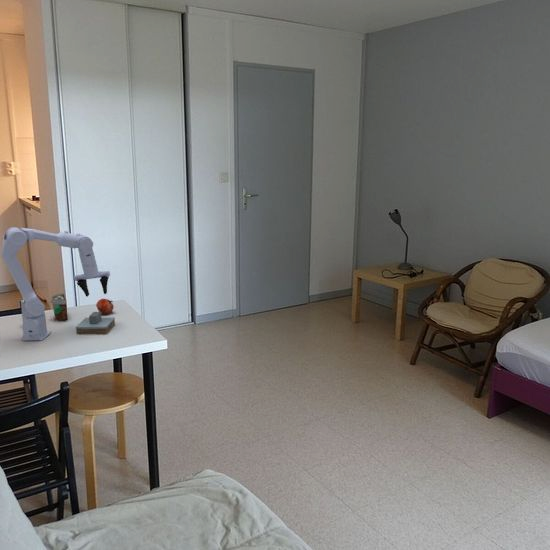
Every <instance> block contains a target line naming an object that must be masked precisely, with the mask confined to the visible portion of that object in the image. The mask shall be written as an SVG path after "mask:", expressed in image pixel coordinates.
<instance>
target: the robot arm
mask: <svg viewBox="0 0 550 550" xmlns="http://www.w3.org/2000/svg"><path fill="white" fill-rule="evenodd" d="M34 240H39V241H47V242H54V243H56V244H57V245H58V246H59V247H63V248H69V249H77V250H78V254H79V259H80V264H81V267H82V271H83V274H78V275H75V276H73V278H74V282H76V284H77V286H79V288H80V289H81V290H82V292H83V293H84V295H85V297H87V298H88V297H89V295H90V291H89V288H88V281H87V280H92V279H98V278H99V282H100V284H101V287H102V292H103V294H104V295H107V294H108V281H109V277H110V276H111V273H110V270H107V271H104V270H103V271H99V269H98V268H99V267H98V265H97V260H96V256H95V252H94V249H93V247H94V241H93V240H92V239H91V238H90V237H88V236H86V235H84V234H80V233H69V231H67V230H64V231H60V232H59V233H52V232H48V231H43V230H39V229H34V228H27V227H26V228H25V227H20V228H19V227H18V226H17V227H15V226H14V227H13V226H12V227H9V228H8V229H7V230H6V231H5V233H4V234H3V236H2V245H1V252H0V255H1V257H2V259H3V261H4V264H5V265H6V268H7V269H8V272H9V273H10V275H11V277H12V279H13V280H14V283H15V284H16V287H17V289H18V291H19V293H20V295H21V297H22V300H24V307H25V309H26V310H27V312H26V314H25V317H26V319H25V321H24V323H23V322H22V331H23V332H22V333H23V338H21V341H44V339H46V338H47V336H49V335H50V334H51V333H52V331H48V330H47V329H48V326H47V319H46V312H45V310H46V306H45V304H44V303H43V302H42V301H41V299H39V298H40V297H38V296H37V294H36V292H35V290H34V288H33V287H32V285H31V283H30V281H29V278H28V276H27V274H26V272H25V270H24V269H23V265H21V262H20V260H19V259H18V257H17V255H18V253H19V251H20V250H21V248H22V247H23V246H24V245H25V244H26V243H27V242H28V243H30V242H32V241H34Z"/></svg>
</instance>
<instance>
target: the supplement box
mask: <svg viewBox="0 0 550 550" xmlns="http://www.w3.org/2000/svg"><path fill="white" fill-rule="evenodd" d="M38 298H39V299H40V297H38ZM40 300H41V299H40ZM20 305H21V316H22V317H21V318H22V324H23V323H24V321H25V319H26V317H25V314H26V312H27V310H26V309H25V307H24V300H23V299H22V300H21V301H20Z"/></svg>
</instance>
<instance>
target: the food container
mask: <svg viewBox="0 0 550 550" xmlns="http://www.w3.org/2000/svg"><path fill="white" fill-rule="evenodd" d="M50 303H51V304H52V309H53V315H54V319H55V321H58V322H66V320H69V316H68V307H67V299H66V297H65V293H64V292H62V293H55V294H53V295H52V296H51V298H50Z"/></svg>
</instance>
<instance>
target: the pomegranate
mask: <svg viewBox="0 0 550 550" xmlns="http://www.w3.org/2000/svg"><path fill="white" fill-rule="evenodd" d="M113 302H114V300H110V299H108V298H101V299H99V300H98V301H97V302H96V305H95V306H96V308H97V310H98V312H101V315H108V314H110V313H112V312H113V310H114V307H115V306H114V303H113Z"/></svg>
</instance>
